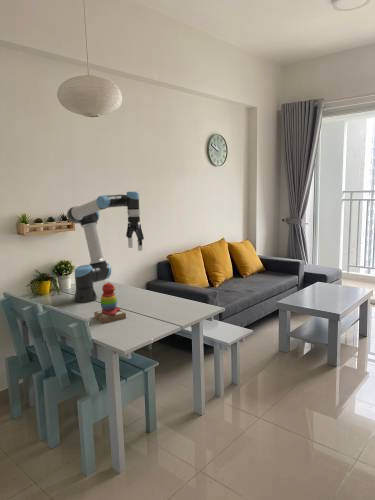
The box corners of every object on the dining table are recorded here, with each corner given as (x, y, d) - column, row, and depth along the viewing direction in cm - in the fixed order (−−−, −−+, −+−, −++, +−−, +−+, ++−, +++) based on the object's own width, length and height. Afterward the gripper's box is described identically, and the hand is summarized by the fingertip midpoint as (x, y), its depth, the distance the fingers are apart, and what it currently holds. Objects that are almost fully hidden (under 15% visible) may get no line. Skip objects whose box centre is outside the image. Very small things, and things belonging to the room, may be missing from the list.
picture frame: (94, 316, 230) (94, 311, 229) (116, 312, 237) (116, 307, 237) (103, 323, 218) (103, 318, 218) (126, 318, 226) (125, 313, 225)
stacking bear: (114, 316, 221) (112, 286, 218) (98, 315, 223) (96, 285, 220) (121, 310, 231) (119, 281, 228) (105, 309, 234) (104, 280, 231)
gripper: (119, 215, 250) (121, 247, 254) (137, 217, 230) (139, 252, 234) (130, 214, 255) (131, 246, 258) (148, 216, 234) (149, 250, 238)
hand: (135, 249), depth 246 cm, fingers open, 13 cm apart
